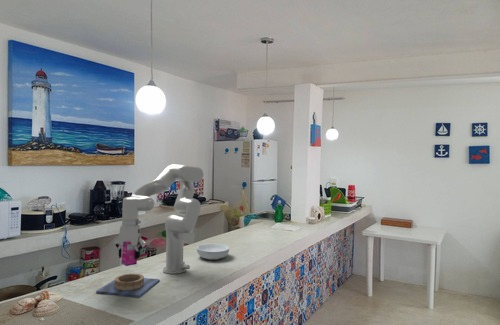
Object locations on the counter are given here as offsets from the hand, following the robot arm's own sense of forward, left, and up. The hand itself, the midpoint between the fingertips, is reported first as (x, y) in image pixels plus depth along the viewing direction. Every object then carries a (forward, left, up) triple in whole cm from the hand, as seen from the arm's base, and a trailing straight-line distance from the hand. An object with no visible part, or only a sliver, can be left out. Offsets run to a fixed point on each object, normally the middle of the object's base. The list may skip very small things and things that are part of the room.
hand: (129, 257), depth 181 cm
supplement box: (0, 0, -3) cm, 3 cm away
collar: (0, 0, -15) cm, 15 cm away
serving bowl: (-26, -59, -15) cm, 67 cm away
